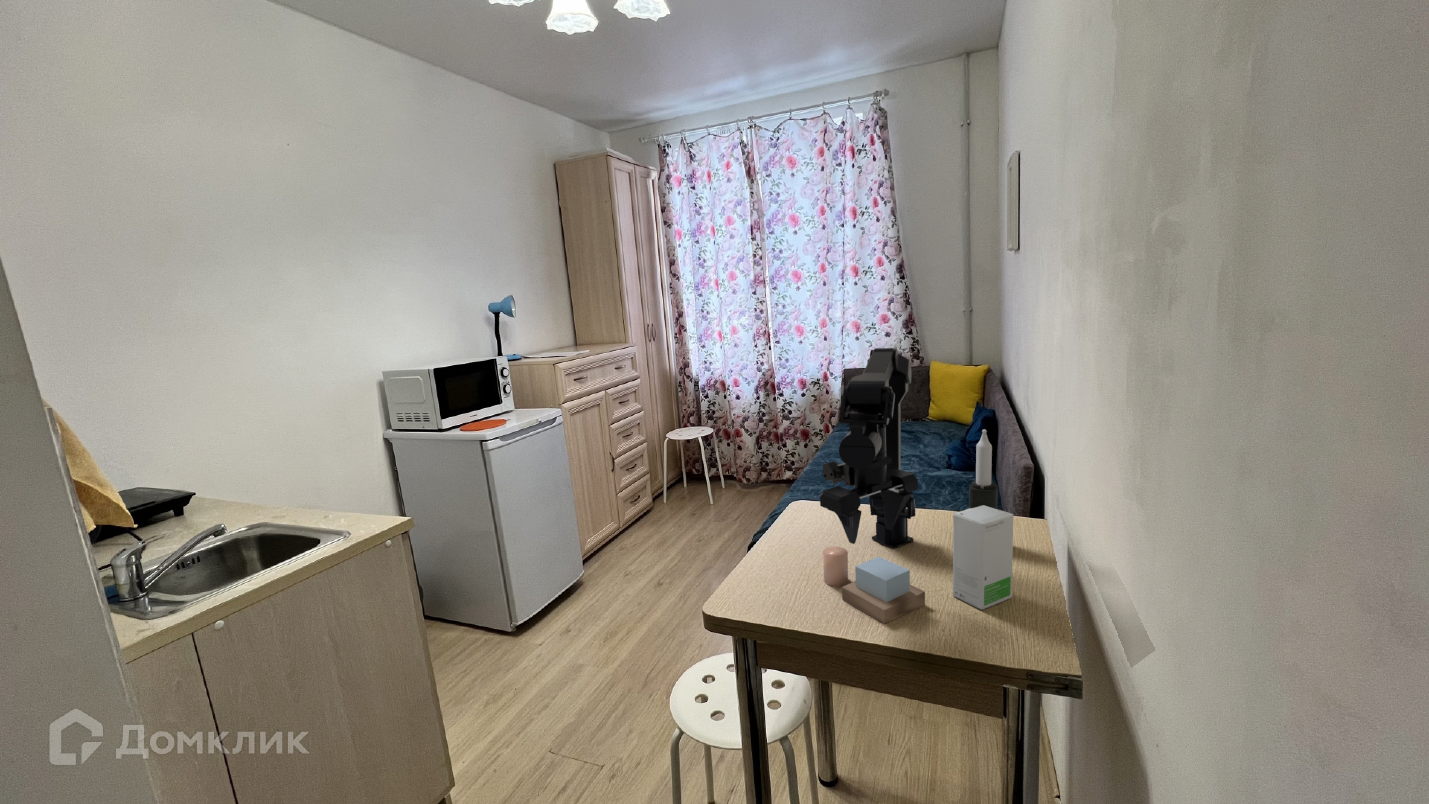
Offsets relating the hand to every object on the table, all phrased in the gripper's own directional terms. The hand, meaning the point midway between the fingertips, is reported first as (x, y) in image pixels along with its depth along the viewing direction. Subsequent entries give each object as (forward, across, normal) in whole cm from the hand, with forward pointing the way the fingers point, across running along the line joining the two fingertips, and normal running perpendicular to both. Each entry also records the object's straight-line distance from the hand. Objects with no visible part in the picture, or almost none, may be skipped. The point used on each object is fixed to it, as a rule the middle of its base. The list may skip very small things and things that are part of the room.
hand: (870, 535), depth 104 cm
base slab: (+12, 0, +3) cm, 12 cm away
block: (+9, 0, +2) cm, 10 cm away
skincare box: (+12, -15, +12) cm, 22 cm away
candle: (+12, -34, -1) cm, 36 cm away
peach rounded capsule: (+12, +1, -8) cm, 15 cm away
